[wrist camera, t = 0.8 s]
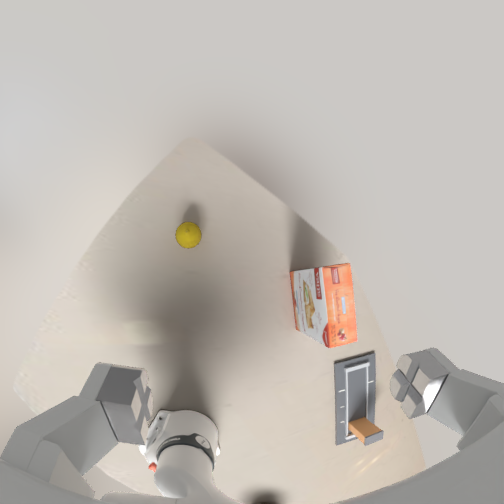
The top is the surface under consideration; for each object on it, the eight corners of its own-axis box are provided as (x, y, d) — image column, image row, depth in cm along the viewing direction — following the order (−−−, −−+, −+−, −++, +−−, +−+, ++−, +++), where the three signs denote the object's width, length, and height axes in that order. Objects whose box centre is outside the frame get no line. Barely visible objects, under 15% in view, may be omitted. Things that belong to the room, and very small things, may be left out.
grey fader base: (372, 431, 63) (375, 433, 61) (335, 444, 61) (338, 447, 59) (373, 352, 65) (377, 353, 64) (333, 363, 64) (336, 365, 62)
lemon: (199, 223, 63) (197, 215, 55) (204, 247, 63) (203, 241, 55) (175, 229, 62) (170, 221, 55) (180, 252, 62) (176, 248, 54)
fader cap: (364, 423, 62) (382, 438, 52) (348, 429, 61) (365, 445, 51) (364, 416, 62) (383, 431, 52) (348, 422, 61) (365, 438, 51)
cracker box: (287, 271, 65) (320, 265, 44) (311, 268, 66) (352, 261, 45) (294, 330, 63) (329, 349, 43) (317, 326, 64) (360, 341, 44)
